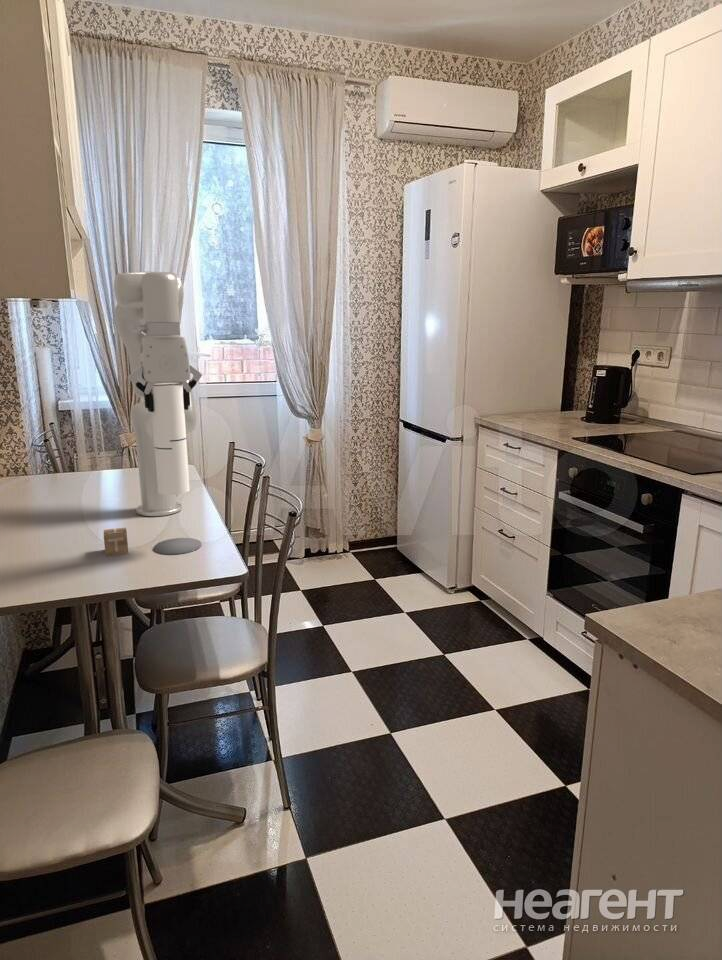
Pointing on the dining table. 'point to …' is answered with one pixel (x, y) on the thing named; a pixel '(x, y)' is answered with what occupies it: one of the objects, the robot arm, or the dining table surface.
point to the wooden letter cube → (115, 541)
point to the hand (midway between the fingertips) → (168, 409)
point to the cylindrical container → (170, 439)
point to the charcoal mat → (177, 546)
